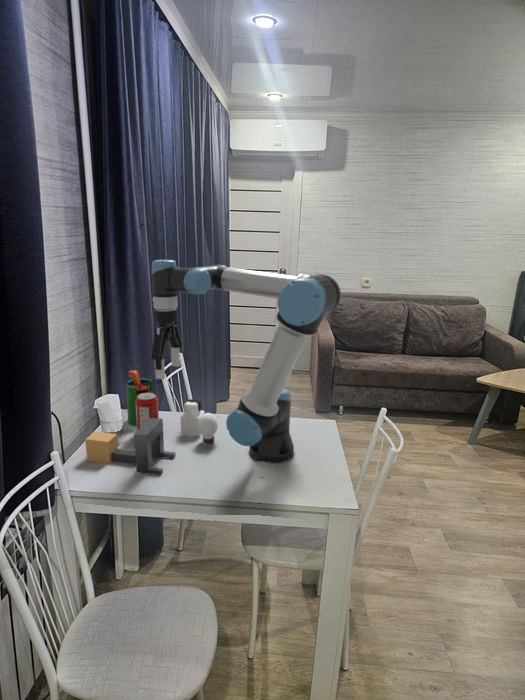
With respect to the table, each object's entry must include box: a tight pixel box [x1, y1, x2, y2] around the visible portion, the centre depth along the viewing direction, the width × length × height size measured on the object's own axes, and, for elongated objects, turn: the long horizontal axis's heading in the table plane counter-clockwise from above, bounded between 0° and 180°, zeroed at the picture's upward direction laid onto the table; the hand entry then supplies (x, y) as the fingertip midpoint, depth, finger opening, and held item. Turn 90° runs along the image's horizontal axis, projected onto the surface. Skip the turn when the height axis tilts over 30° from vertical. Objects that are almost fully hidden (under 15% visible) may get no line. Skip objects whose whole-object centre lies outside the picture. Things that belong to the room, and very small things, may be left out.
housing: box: [133, 418, 177, 476], centre depth 139 cm, size 8×12×13 cm, turn 169°
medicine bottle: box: [180, 398, 206, 437], centre depth 162 cm, size 7×7×12 cm
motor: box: [125, 369, 154, 427], centre depth 169 cm, size 10×9×20 cm
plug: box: [84, 431, 136, 465], centre depth 142 cm, size 17×6×8 cm, turn 79°
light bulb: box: [198, 412, 219, 445], centre depth 155 cm, size 7×7×11 cm
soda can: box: [135, 393, 160, 432], centre depth 159 cm, size 8×8×15 cm
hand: (168, 372), depth 147 cm, fingers open, 13 cm apart
